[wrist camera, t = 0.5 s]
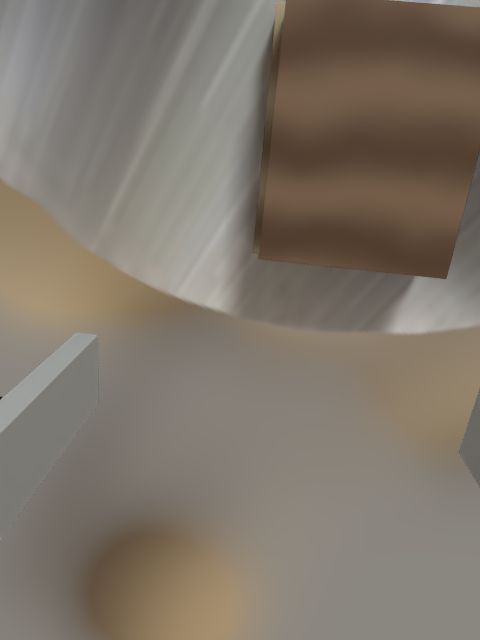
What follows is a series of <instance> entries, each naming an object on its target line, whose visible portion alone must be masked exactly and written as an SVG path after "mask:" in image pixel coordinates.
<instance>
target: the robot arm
mask: <svg viewBox="0 0 480 640" xmlns="http://www.w3.org/2000/svg"><path fill="white" fill-rule="evenodd" d="M98 404H99V379H98V335H94V334H86V333H78V332H76V333H75V334H74V335H73V336H72V337H71V338H69V339H68V340H67V341H66V342H65V343H64V344H63V345H62V346H60V347H59V348H58V349H57V350H56V351H55V352H54V353H53V354H51V355H50V356H49V357H48V358H47V359H46V360H45V361H43V362H42V363H41V364H40V365H39V366H38V367H37V368H36V369H34V370H33V371H32V372H31V373H30V374H29V375H28V376H27V377H25V378H24V379H23V380H22V381H21V382H20V383H19V384H18V385H17V386H15V387H14V388H13V389H12V390H11V391H10V392H9V393H8V394H6V395H5V396H4V397H0V540H1V539H2V537H3V536H4V535H5V533H6V532H7V531H8V529H9V528H10V526H11V525H12V524H13V522H14V521H15V519H16V518H17V517H18V515H19V514H20V513H21V511H22V510H23V508H24V507H25V506H26V504H27V503H28V501H29V500H30V499H31V497H32V496H33V494H34V493H35V492H36V490H37V489H38V488H39V486H40V485H41V483H42V482H43V481H44V479H45V478H46V476H47V475H48V474H49V472H50V471H51V469H52V468H53V467H54V465H55V464H56V462H57V461H58V460H59V458H60V457H61V456H62V454H63V453H64V451H65V450H66V449H67V447H68V446H69V444H70V443H71V441H72V440H73V439H74V437H75V436H76V435H77V433H78V432H79V430H80V429H81V427H82V426H83V425H84V423H85V422H86V421H87V419H88V418H89V417H90V415H91V414H92V412H93V411H94V410H95V408H96V407H97V405H98ZM459 454H460V455H461V457H462V458H463V460H464V462H465V463H466V465H467V467H468V468H469V470H470V472H471V474H472V475H473V477H474V478H475V480H476V482H477V483H478V485H479V487H480V389H479V392H478V396H477V398H476V402H475V405H474V408H473V410H472V413H471V417H470V420H469V423H468V426H467V429H466V432H465V435H464V438H463V441H462V444H461V447H460V450H459Z"/></svg>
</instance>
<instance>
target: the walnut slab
mask: <svg viewBox="0 0 480 640" xmlns="http://www.w3.org/2000/svg"><path fill="white" fill-rule="evenodd" d="M479 150H480V8H479V7H466V6H453V5H441V4H428V3H415V2H402V1H389V0H286V4H285V14H284V23H283V33H282V42H281V52H280V61H279V71H278V80H277V89H276V99H275V108H274V118H273V127H272V137H271V146H270V156H269V165H268V175H267V184H266V194H265V203H264V213H263V222H262V232H261V241H260V251H259V259H264V260H273V261H283V262H292V263H302V264H311V265H320V266H330V267H339V268H348V269H358V270H367V271H377V272H386V273H395V274H405V275H414V276H423V277H433V278H442V279H446V278H447V274H448V270H449V266H450V262H451V258H452V255H453V251H454V247H455V243H456V239H457V235H458V231H459V227H460V224H461V220H462V216H463V212H464V208H465V204H466V200H467V196H468V192H469V189H470V185H471V181H472V177H473V173H474V169H475V165H476V161H477V158H478V154H479Z"/></svg>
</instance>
